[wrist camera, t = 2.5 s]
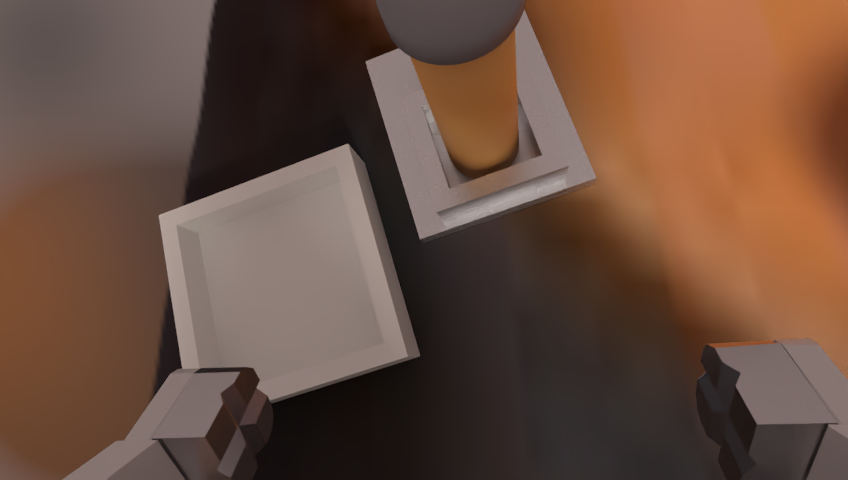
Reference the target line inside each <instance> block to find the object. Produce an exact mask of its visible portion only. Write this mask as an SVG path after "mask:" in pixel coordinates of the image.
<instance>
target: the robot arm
mask: <svg viewBox="0 0 848 480" xmlns="http://www.w3.org/2000/svg"><path fill="white" fill-rule="evenodd" d="M701 362H702V364H703V366H704V368H705V370H706V373H705V374H704V375H702V376H701V377H700V378H699V379H698V380H697V388H696V400H697V409H698V413H699V416H700V420H701V423H702V425H703V428H704V430H705V432H706V435H707V436H708V437H709V438H710V439H712V440H713V441H714V442H716V443H717V444H718V445H720V446H721V448H720V453H719V457H718V462H719V464H720V466H721V469H722V471H723V473H724V475H725V478H726V480H848V380H847V379H846V377H845V376H844V375H843V374H842V373H841V371H840V370H839V369H838V368H837V366H836V365H835V364H834V363H833V361H832V360H831V359H830V358H829V357H828V355H827V354H826V353H825V352H824V350H823V349H822V348H821V347H820V346H819V344H818V343H817V342H815V341H813V340H812V339H810V338H806V339H788V340H774V341H753V342H735V343H718V344H707V345H706V346H705V348H704V349H703V353H702V358H701ZM259 381H260V379H259V377H258V375H257V374H256V372H255V370H254V368H249V367H223V368H197V369H177V370H176V371H174V372H173V373H171V374H170V375H169V376H168V378H167V379H166V381H165V382H164V384H163V385H162V386H161V388H160V389H159V391H158V392H157V394H156V395H155V397H154V398H153V399H152V401H151V402H150V404H149V405H148V407H147V408H146V409H145V411H144V413H143V414H142V415H141V417H140V418H139V420H138V421H137V422H136V424H135V425H134V427H133V428H132V430H131V431H130V433H129V434H128V435H127V437H126V439H125V440H123V441H116V442H114V443H113V444H111V445H110V446H109V447H107V448H106V449H104V450H103V451H102V452H100V453H99V454H97V455H96V456H95V457H94V458H92V459H91V460H90V461H88V462H86V463H85V464H84V465H82V466H81V467H79V468H78V469H77V470H75V471H74V472H72V473H71V474H70V475H68V476H67V477H65V478H64V479H63V480H252V479H253V476H254V474H255V472H256V469H257V467H258V465H257V461H256V458H255V455H256V454H257V453H258V452H259V451H260V450H261V449H262V448H263V447H264V446H266V445H267V442H268V440H269V437H270V434H271V432H272V425H273V416H274V415H273V409H272V404H271V402H270V400H269V398H268V396H267V395H266V394H264V393H263V392H262V391H260V390H259V389H257V386H258V383H259Z"/></svg>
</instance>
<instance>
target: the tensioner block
mask: <svg viewBox="0 0 848 480" xmlns="http://www.w3.org/2000/svg"><path fill="white" fill-rule="evenodd" d="M515 43H516V72H517V101H518V129H519V149H518V153H517V156H516V158H515V160H514V162H513V163H512V165H511V166H510V167H508V168H505V169H502V170H499V171H497V172H494V173H491V174H488V175H485V176H483V177H480V178H477V179H475V178H471V177H468V176H466V175H464V174H462V173H461V172H459V171H458V170H457V169H456V168H455V167H454V165H453V164H452V162H451V160H450V158H449V155H448V152H447V150H446V147H445V145H444V142H443V140H442V137H441V135H440V132H439V129H438V127H437V124H436V122H435V119H434V117H433V114H432V111H431V109H430V106H429V104H428V101H427V99H426V96H425V94H424V91H423V88H422V86H421V83H420V81H419V78H418V76H417V73H416V70H415V68H414V65H413V63H412V60H411V58H410V56H409V55H407V54H405V53H404V52H403V51H402V50H401V49H399V48H398V49H396V50H393V51H391V52H388V53H385V54H383V55H380V56H378V57H375V58H373V59H370V60H368V61H365V62H366V65H367V68H368V72H369V75H370V78H371V82H372V85H373V88H374V91H375V95H376V98H377V101H378V104H379V108H380V111H381V114H382V117H383V121H384V124H385V127H386V130H387V134H388V137H389V140H390V143H391V147H392V150H393V153H394V156H395V160H396V163H397V166H398V169H399V173H400V176H401V179H402V182H403V186H404V189H405V192H406V196H407V199H408V202H409V205H410V209H411V212H412V215H413V218H414V222H415V225H416V228H417V231H418V235H419V238H420V240H421V241H422V242H423V243H426V242H428V241H431V240H434V239H437V238H440V237H443V236H446V235H449V234H452V233H454V232H457V231H460V230H463V229H466V228H469V227H472V226H475V225H478V224H481V223H483V222H486V221H489V220H492V219H495V218H498V217H501V216H504V215H507V214H509V213H512V212H515V211H518V210H521V209H524V208H527V207H530V206H533V205H535V204H538V203H541V202H544V201H547V200H550V199H553V198H556V197H559V196H561V195H564V194H567V193H570V192H573V191H576V190H579V189H582V188H585V187H588V186H590V185H593V184H594V183H595V181H596V176H595V173H594V171H593V169H592V166H591V164H590V162H589V159H588V157H587V155H586V152H585V150H584V148H583V145H582V143H581V141H580V138H579V136H578V134H577V131H576V129H575V127H574V124H573V122H572V120H571V117H570V115H569V113H568V110H567V108H566V106H565V103H564V101H563V98H562V96H561V94H560V91H559V89H558V87H557V84H556V82H555V80H554V77H553V75H552V73H551V70H550V68H549V66H548V63H547V61H546V59H545V56H544V54H543V52H542V49H541V47H540V45H539V42H538V40H537V38H536V35H535V33H534V31H533V28H532V26H531V24H530V21H529V19H528V17H527V14H526V12H525V10H524V11H523V14H522V16H521V18H520V21H519V23H518V24H517V26H516V28H515Z"/></svg>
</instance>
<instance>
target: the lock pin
mask: <svg viewBox="0 0 848 480" xmlns="http://www.w3.org/2000/svg"><path fill="white" fill-rule="evenodd" d="M525 2H526V0H376V4H377V8H378V10H379V13H380V15H381V17H382V20H383V22H384V24H385V27H386V29H387V31H388V34H389V36H390V37H391V39H392V40H393V42H394V43H395V44H396V45H397V47H398V48H399V49H401V50H402V51H403V52H404V53H405V54H407V55H409V56H410V58H411V60H412V63H413V65H414V68H415V70H416V73H417V76H418V78H419V81H420V83H421V86H422V88H423V91H424V94H425V96H426V99H427V101H428V104H429V106H430V109H431V111H432V114H433V117H434V119H435V122H436V124H437V127H438V129H439V132H440V135H441V137H442V140H443V142H444V145H445V147H446V150H447V152H448V155H449V158H450V160H451V162H452V164H453V165H454V167H455V168H456V169H457V170H458V171H459V172H461V173H462V174H464V175H466V176H468V177H471V178H475V179H477V178H480V177H483V176H485V175H488V174H491V173H494V172H497V171H499V170H502V169H505V168H508V167H510V166H511V165H512V163H513V162H514V160H515V158H516V156H517V153H518V149H519V129H518V101H517V72H516V43H515V28H516V26H517V24H518V23H519V21H520V18H521V16H522V14H523V11H524V7H525Z"/></svg>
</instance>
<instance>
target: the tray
mask: <svg viewBox="0 0 848 480" xmlns="http://www.w3.org/2000/svg"><path fill="white" fill-rule="evenodd" d="M159 221H160V228H161V234H162V241H163V247H164V254H165V259H166V266H167V273H168V280H169V286H170V293H171V299H172V306H173V312H174V319H175V325H176V332H177V338H178V345H179V351H180V358H181V364H182V369H197V368H223V367H249V368H254V370H255V372H256V374H257V375H258V377H259V379H260V381H259V383H258V386H257V389H259V390H260V391H262V392H263V393H264V394H266V395H267V396H268V398H269V400H270V402H271V404H272V403H275V402H278V401H281V400H284V399H287V398H291V397H294V396H297V395H300V394H303V393H306V392H310V391H313V390H316V389H319V388H322V387H325V386H328V385H332V384H335V383H338V382H341V381H344V380H347V379H351V378H354V377H357V376H360V375H363V374H366V373H369V372H373V371H376V370H379V369H382V368H385V367H388V366H391V365H395V364H398V363H401V362H404V361H407V360H410V359H414V358H417V357H420V353H419V350H418V346H417V343H416V339H415V336H414V332H413V329H412V325H411V322H410V318H409V315H408V311H407V308H406V304H405V301H404V298H403V294H402V291H401V287H400V284H399V280H398V277H397V273H396V270H395V266H394V263H393V259H392V256H391V252H390V249H389V245H388V242H387V238H386V235H385V231H384V228H383V224H382V221H381V217H380V214H379V211H378V207H377V204H376V200H375V197H374V193H373V190H372V186H371V183H370V179H369V176H368V172H367V169H366V165H365V163H364V162H363V160H362V159H361V158H360V157H359V156H358V155H357V153H356V152H355V151H354V150H353V149H352V147H351V146H350V145H349V144H345V145H343V146H340V147H338V148H335V149H332V150H330V151H327V152H324V153H322V154H319V155H316V156H314V157H311V158H308V159H306V160H303V161H301V162H298V163H295V164H293V165H290V166H287V167H285V168H282V169H279V170H277V171H274V172H271V173H269V174H266V175H264V176H261V177H258V178H256V179H253V180H250V181H248V182H245V183H242V184H240V185H237V186H235V187H232V188H229V189H227V190H224V191H221V192H219V193H216V194H213V195H211V196H208V197H205V198H203V199H200V200H198V201H195V202H192V203H190V204H187V205H184V206H182V207H179V208H176V209H174V210H171V211H168V212H166V213H163V214H161V215H159Z"/></svg>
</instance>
